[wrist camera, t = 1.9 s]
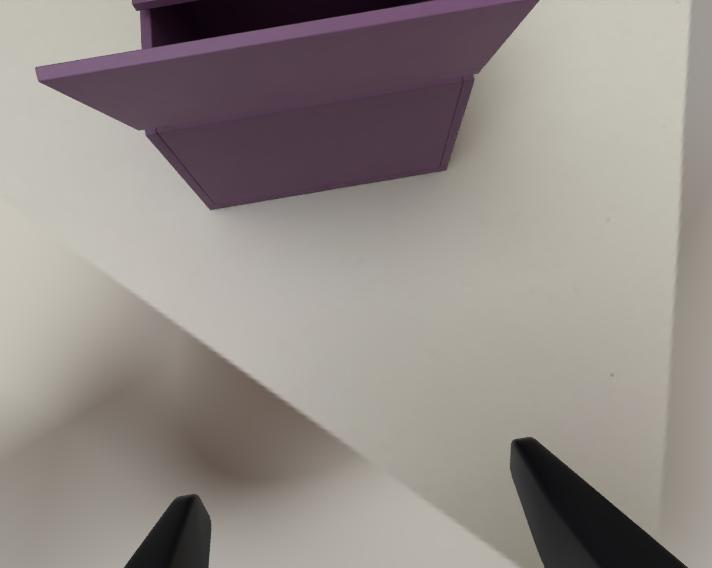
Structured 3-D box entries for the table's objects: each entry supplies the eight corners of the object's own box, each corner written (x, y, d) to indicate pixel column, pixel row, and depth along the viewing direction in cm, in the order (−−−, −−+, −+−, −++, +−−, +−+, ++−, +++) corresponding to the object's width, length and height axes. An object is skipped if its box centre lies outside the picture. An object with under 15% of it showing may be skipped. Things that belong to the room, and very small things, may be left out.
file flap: (477, 63, 18) (478, 74, 18) (136, 120, 18) (138, 130, 18) (541, -19, 12) (543, -3, 12) (33, 66, 12) (37, 81, 12)
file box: (446, 170, 26) (479, 65, 18) (209, 210, 26) (134, 123, 18) (407, 8, 29) (419, -145, 21) (196, 43, 29) (126, -96, 21)
